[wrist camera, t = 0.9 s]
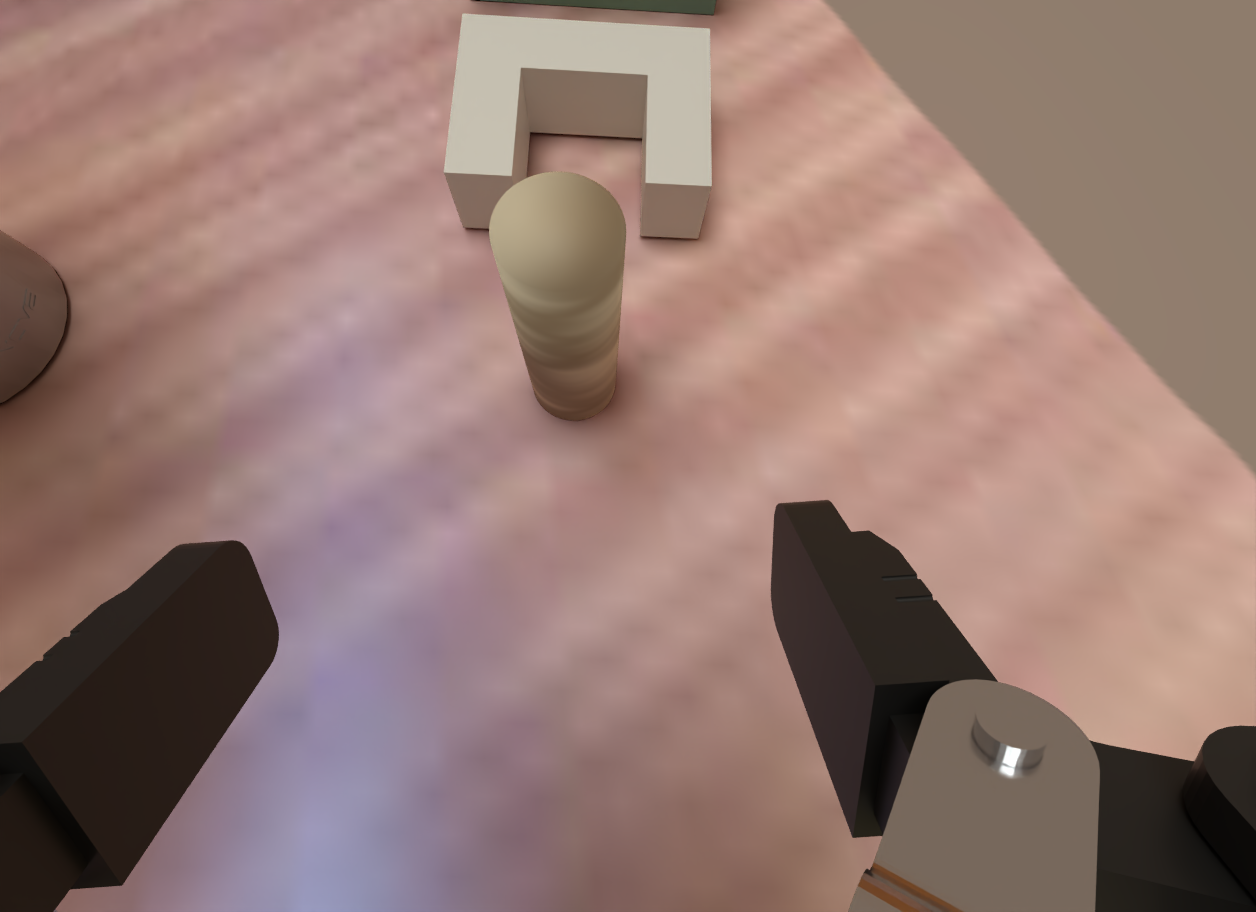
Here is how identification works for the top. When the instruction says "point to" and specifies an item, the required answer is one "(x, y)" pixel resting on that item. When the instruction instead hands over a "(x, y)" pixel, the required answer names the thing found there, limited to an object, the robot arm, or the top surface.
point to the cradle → (582, 109)
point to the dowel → (563, 286)
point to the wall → (634, 4)
